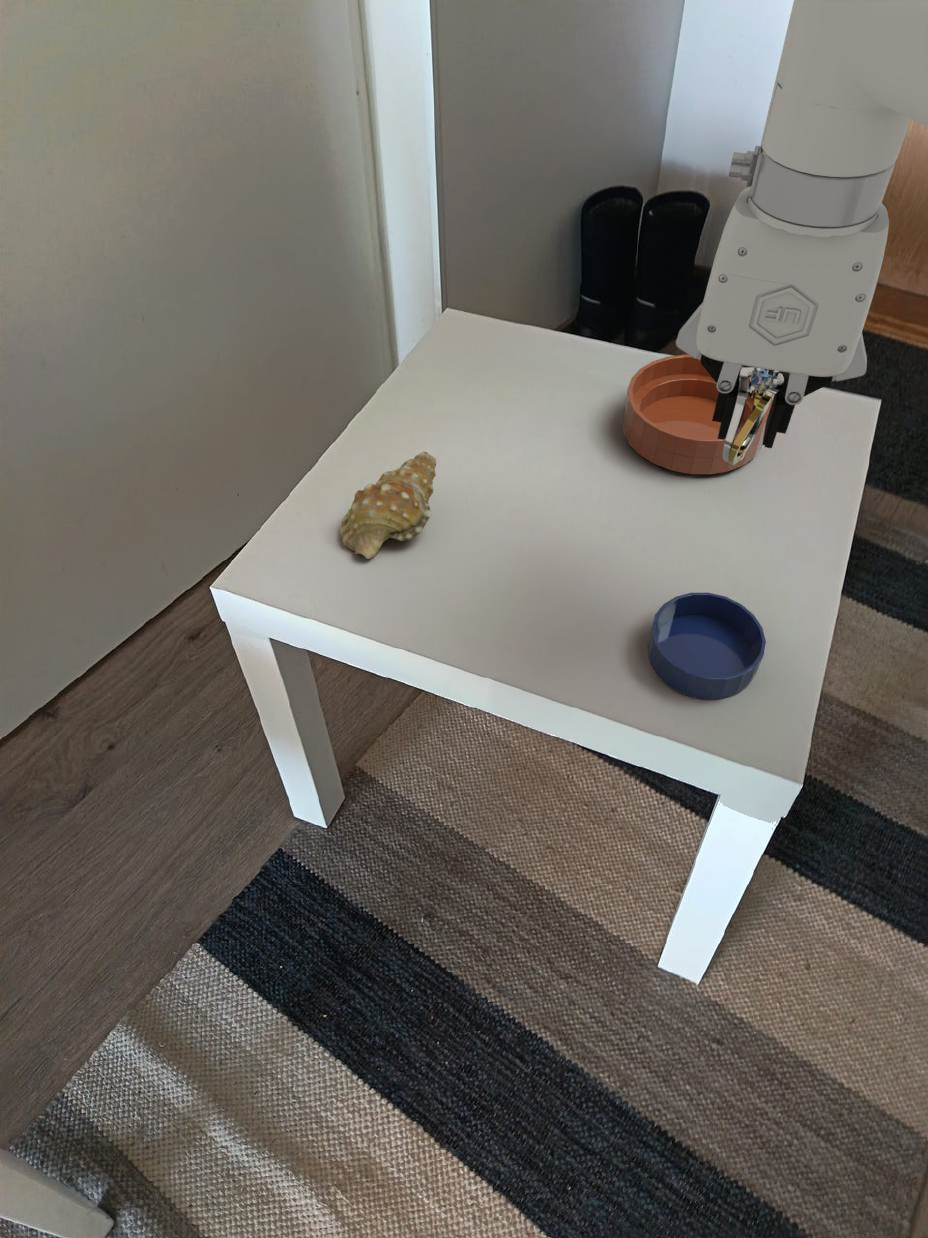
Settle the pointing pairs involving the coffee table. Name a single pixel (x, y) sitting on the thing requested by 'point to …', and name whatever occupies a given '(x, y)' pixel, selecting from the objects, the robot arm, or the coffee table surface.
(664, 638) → the blue round dish
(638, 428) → the bowl
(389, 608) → the coffee table surface
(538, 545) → the coffee table surface
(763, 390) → the ring
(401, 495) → the seashell
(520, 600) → the coffee table surface
